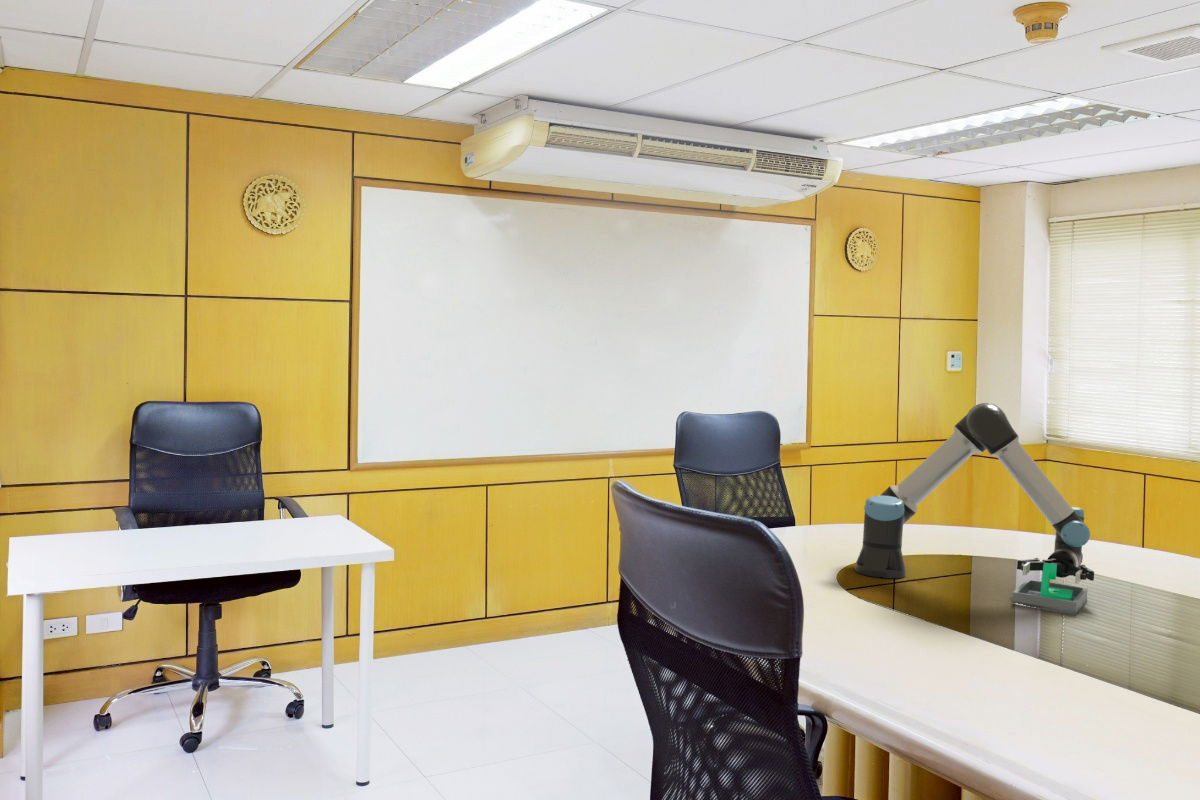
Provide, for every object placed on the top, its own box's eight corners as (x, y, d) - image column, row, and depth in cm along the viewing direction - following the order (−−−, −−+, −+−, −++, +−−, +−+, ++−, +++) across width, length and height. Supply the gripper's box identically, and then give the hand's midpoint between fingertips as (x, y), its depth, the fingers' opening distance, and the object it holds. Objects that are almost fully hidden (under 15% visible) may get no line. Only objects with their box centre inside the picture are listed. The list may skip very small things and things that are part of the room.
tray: (1012, 604, 275) (1012, 592, 275) (1027, 590, 293) (1027, 579, 293) (1075, 615, 266) (1076, 602, 266) (1086, 600, 285) (1087, 588, 285)
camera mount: (1070, 607, 271) (1072, 570, 270) (1039, 603, 274) (1042, 566, 274) (1072, 598, 281) (1074, 563, 281) (1042, 594, 285) (1045, 559, 284)
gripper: (1108, 582, 288) (1098, 595, 270) (1016, 568, 302) (1002, 580, 284) (1110, 557, 288) (1100, 568, 270) (1018, 544, 301) (1003, 554, 283)
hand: (1050, 574), depth 277 cm, fingers open, 13 cm apart
